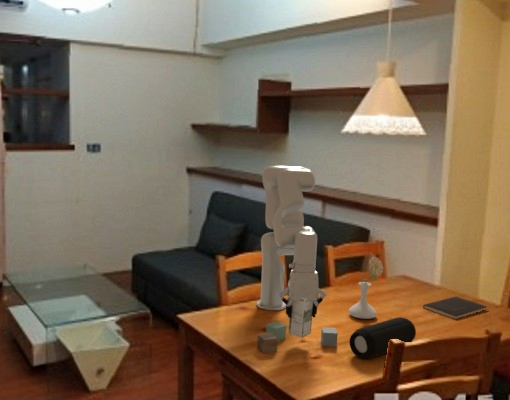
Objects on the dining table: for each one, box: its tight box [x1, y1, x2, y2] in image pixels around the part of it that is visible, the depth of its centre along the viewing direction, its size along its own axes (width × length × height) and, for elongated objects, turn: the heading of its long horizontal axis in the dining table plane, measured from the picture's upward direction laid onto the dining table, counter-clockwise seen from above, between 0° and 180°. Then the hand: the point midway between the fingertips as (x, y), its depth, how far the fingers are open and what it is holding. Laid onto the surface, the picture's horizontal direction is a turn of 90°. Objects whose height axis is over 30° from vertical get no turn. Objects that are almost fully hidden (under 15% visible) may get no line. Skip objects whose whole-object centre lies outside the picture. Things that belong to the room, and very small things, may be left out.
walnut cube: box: [256, 332, 278, 355], centre depth 180 cm, size 5×5×5 cm
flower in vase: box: [348, 256, 384, 320], centre depth 215 cm, size 13×11×25 cm
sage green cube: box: [265, 321, 287, 342], centre depth 190 cm, size 5×5×5 cm
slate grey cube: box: [320, 327, 338, 348], centre depth 188 cm, size 5×5×5 cm
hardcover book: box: [422, 296, 488, 320], centre depth 231 cm, size 16×23×2 cm
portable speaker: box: [349, 316, 417, 360], centre depth 183 cm, size 26×10×10 cm, turn 127°
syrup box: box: [288, 297, 313, 339], centre depth 183 cm, size 6×6×14 cm
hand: (301, 315), depth 183 cm, fingers closed on syrup box, 8 cm apart
